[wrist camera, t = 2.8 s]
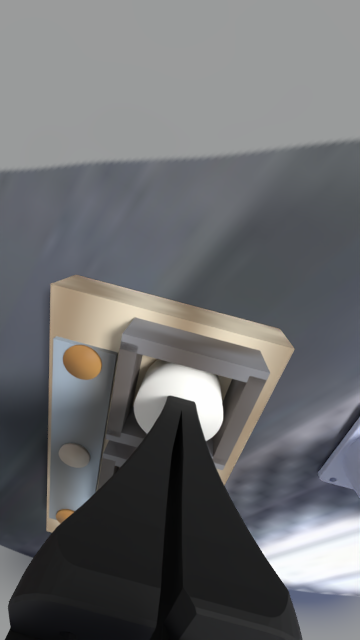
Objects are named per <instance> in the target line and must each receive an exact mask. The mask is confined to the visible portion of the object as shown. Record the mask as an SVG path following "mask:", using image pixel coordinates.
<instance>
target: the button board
mask: <svg viewBox="0 0 360 640" xmlns="http://www.w3.org/2000/svg"><path fill="white" fill-rule="evenodd" d="M293 351H294V347H293V346H292V345H291V343H290V342H289V341H288V339H287V338H286V337H285V335H284V334H283V333H282V331H281V330H280V329H278V328H274V327H270V326H267V325H263V324H259V323H255V322H252V321H248V320H244V319H240V318H237V317H233V316H229V315H225V314H222V313H218V312H214V311H210V310H206V309H203V308H199V307H195V306H191V305H188V304H184V303H180V302H176V301H173V300H169V299H165V298H161V297H158V296H154V295H150V294H146V293H143V292H139V291H135V290H131V289H128V288H124V287H120V286H116V285H113V284H109V283H105V282H101V281H98V280H94V279H90V278H86V277H83V276H79V275H74V276H71V277H69V278H66V279H63V280H60V281H57V282H55V283H52V284H51V297H50V356H49V415H48V474H47V531H48V532H52V533H53V531H54V530H55V529H56V527H57V526H58V525H60V524H61V523H62V522H63V521H64V520H65V519H67V518H68V517H69V516H70V515H71V514H72V513H73V512H75V511H76V510H77V509H78V508H79V507H80V506H82V505H83V504H84V503H85V502H86V501H87V500H88V499H89V498H90V497H91V496H92V495H93V494H94V493H95V492H97V491H98V490H99V489H100V488H101V487H102V486H103V485H104V484H105V483H106V482H107V481H108V480H109V479H110V478H111V477H112V476H113V475H114V474H115V473H116V471H117V470H118V469H119V468H120V467H121V466H122V465H123V464H124V463H125V462H126V460H127V459H128V458H129V457H130V456H131V455H132V453H133V452H134V451H135V450H136V448H137V447H138V446H139V445H140V443H141V442H142V441H143V439H144V438H145V436H146V435H147V433H146V432H145V431H144V430H143V429H142V428H141V427H140V425H139V424H138V422H137V420H136V417H135V414H134V402H135V399H136V396H137V394H138V391H139V389H140V386H141V384H142V382H143V379H144V377H145V374H146V372H147V370H148V369H149V367H150V366H151V365H152V364H153V363H154V362H155V361H157V360H159V359H160V360H164V361H167V362H171V363H175V364H179V365H182V366H186V367H190V368H194V369H197V370H201V371H205V372H209V373H212V374H216V375H217V376H218V378H219V381H220V386H221V396H222V406H223V421H222V424H221V427H220V429H219V430H218V432H217V433H216V434H215V435H214V436H213V437H212V438H210V439H209V440H207V441H206V443H207V446H208V448H209V451H210V454H211V456H212V459H213V461H214V464H215V466H216V469H217V471H218V473H219V476H220V478H221V480H222V482H223V484H224V485H225V483H226V481H227V479H228V477H229V475H230V473H231V472H232V470H233V468H234V466H235V464H236V462H237V460H238V458H239V456H240V454H241V452H242V450H243V448H244V446H245V444H246V442H247V440H248V438H249V437H250V435H251V433H252V431H253V429H254V427H255V425H256V423H257V421H258V419H259V417H260V415H261V413H262V411H263V409H264V407H265V405H266V403H267V402H268V400H269V398H270V396H271V394H272V392H273V390H274V388H275V386H276V384H277V382H278V380H279V378H280V376H281V374H282V372H283V370H284V368H285V367H286V365H287V363H288V361H289V359H290V357H291V355H292V353H293Z"/></svg>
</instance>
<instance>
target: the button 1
mask: <svg viewBox="0 0 360 640" xmlns="http://www.w3.org/2000/svg"><path fill="white" fill-rule="evenodd" d="M170 395H171V396H175V397H179V398H182V399H186V400H190V401H194V402H195V403H196V407H197V412H198V416H199V420H200V424H201V427H202V431H203V434H204V437H205V440H206V441H207V440H209V439H210V438H212V437H213V436H214V435H215V434H216V433H217V432H218V430H219V429H220V427H221V424H222V421H223V406H222V396H221V386H220V381H219V378H218V376H217V375H216V374H212V373H209V372H205V371H201V370H197V369H194V368H190V367H186V366H182V365H179V364H175V363H171V362H167V361H164V360H160V359H159V360H157V361H155V362H154V363H153V364H152V365H151V366H150V367H149V369H148V370H147V372H146V374H145V377H144V379H143V382H142V384H141V386H140V389H139V391H138V394H137V396H136V399H135V402H134V414H135V417H136V420H137V422H138V424H139V425H140V427H141V428H142V429H143V430H144V431H145V432H146V433H147V434H148V432H149V431H150V429H151V428H152V426H153V425H154V423H155V422H156V420H157V418H158V417H159V415H160V413H161V411H162V409H163V407H164V405H165V403H166V400H167V396H170Z"/></svg>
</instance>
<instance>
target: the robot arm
mask: <svg viewBox="0 0 360 640" xmlns="http://www.w3.org/2000/svg"><path fill="white" fill-rule="evenodd" d="M318 476H319V478H320V480H321V481H324V482H327V483H331V484H334V485H338V486H342V487H346V488H349V489H353V490H355V491H356V493H357V495H358V497H359V498H360V417H359V419H358V420H357V421H356V423H355V424H354V425H353V427H352V428H351V429H350V431H349V432H348V433H347V435H346V436H345V437H344V439H343V440H342V441H341V443H340V444H339V445H338V447H337V448H336V449H335V451H334V452H333V453H332V455H331V456H330V457H329V459H328V460H327V461H326V463H325V464H324V465H323V467H322V468H321V469H320V471H319V472H318ZM8 611H9V619H10V625H11V628H10V630H9V632H8V635H7V636H6V639H5V640H302V636H301V632H300V627H299V624H298V620H297V617H296V613H295V610H294V607H293V604H292V601H291V598H290V595H289V591H288V590H287V588H286V587H285V585H284V584H283V582H282V581H281V579H280V578H279V577H278V575H277V574H276V572H275V571H274V569H273V568H272V566H271V565H270V564H269V562H268V561H267V559H266V558H265V556H264V554H263V553H262V551H261V550H260V548H259V547H258V545H257V543H256V542H255V540H254V539H253V537H252V535H251V534H250V532H249V530H248V529H247V527H246V525H245V523H244V522H243V520H242V518H241V516H240V515H239V513H238V511H237V509H236V507H235V506H234V504H233V502H232V500H231V498H230V496H229V494H228V492H227V490H226V488H225V486H224V484H223V482H222V480H221V478H220V476H219V473H218V471H217V469H216V466H215V464H214V461H213V459H212V456H211V454H210V451H209V448H208V446H207V443H206V440H205V437H204V434H203V431H202V427H201V424H200V420H199V416H198V412H197V407H196V403H195V402H194V401H190V400H186V399H182V398H179V397H175V396H171V395H170V396H167V400H166V403H165V405H164V407H163V409H162V411H161V413H160V415H159V417H158V418H157V420H156V422H155V423H154V425H153V426H152V428H151V429H150V431H149V432H148V434H147V435H146V436H145V438H144V439H143V441H142V442H141V443H140V445H139V446H138V447H137V448H136V450H135V451H134V452H133V453H132V455H131V456H130V457H129V458H128V459H127V460H126V462H125V463H124V464H123V465H122V466H121V467H120V468H119V469H118V470H117V471H116V473H115V474H114V475H113V476H112V477H111V478H110V479H109V480H108V481H107V482H106V483H105V484H104V485H103V486H102V487H101V488H100V489H99V490H98V491H97V492H95V493H94V494H93V495H92V496H91V497H90V498H89V499H88V500H87V501H86V502H85V503H84V504H83V505H82V506H80V507H79V508H78V509H77V510H76V511H75V512H73V513H72V514H71V515H70V516H69V517H68V518H67V519H65V520H64V521H63V522H62V523H61V524H60V525H58V526H57V527H56V529H55V530H54V531H53V533H52V534H51V535H50V536H49V538H48V539H47V540H46V541H45V543H44V544H43V545H42V547H41V548H40V549H39V551H38V552H37V554H36V555H35V557H34V558H33V560H32V561H31V563H30V564H29V566H28V567H27V569H26V571H25V572H24V574H23V576H22V578H21V580H20V582H19V584H18V586H17V588H16V589H15V591H14V593H13V595H12V597H11V599H10V601H9V605H8Z"/></svg>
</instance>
